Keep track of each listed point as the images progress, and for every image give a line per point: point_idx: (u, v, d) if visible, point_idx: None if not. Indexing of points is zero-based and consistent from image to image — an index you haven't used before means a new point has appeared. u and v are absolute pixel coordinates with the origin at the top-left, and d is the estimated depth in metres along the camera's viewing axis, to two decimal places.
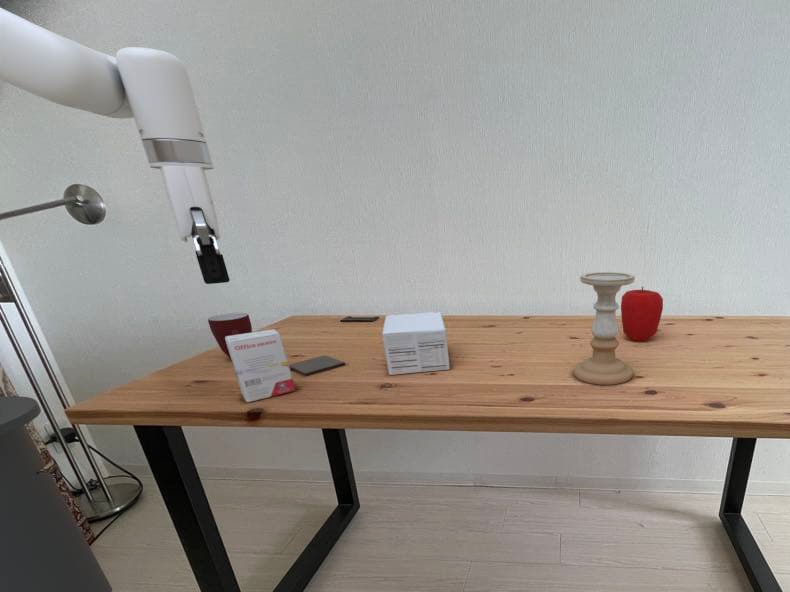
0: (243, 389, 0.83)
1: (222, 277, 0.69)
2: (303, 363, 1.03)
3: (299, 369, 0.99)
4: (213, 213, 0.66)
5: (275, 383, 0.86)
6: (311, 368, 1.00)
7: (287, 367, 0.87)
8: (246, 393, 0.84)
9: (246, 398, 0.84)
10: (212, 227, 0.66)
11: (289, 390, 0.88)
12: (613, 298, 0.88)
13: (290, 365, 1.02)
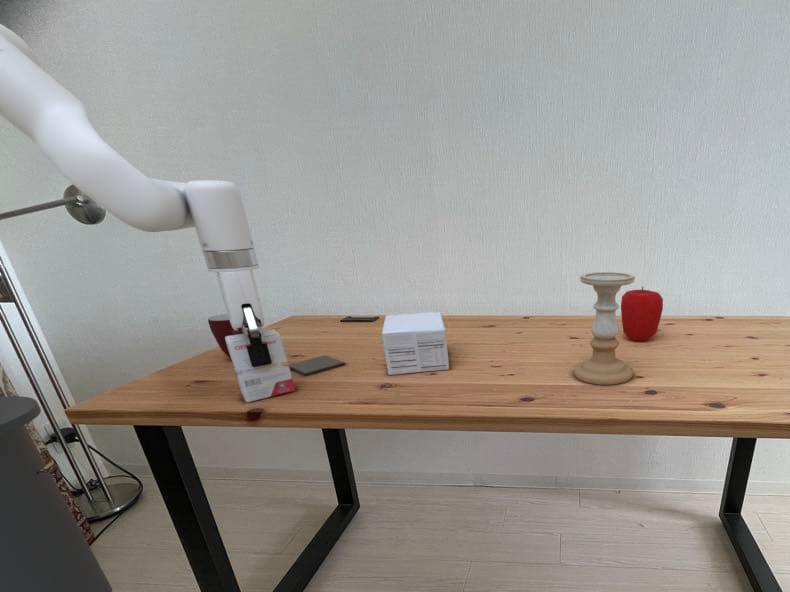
0: (243, 389, 0.83)
1: (266, 360, 0.83)
2: (303, 363, 1.03)
3: (299, 369, 0.99)
4: (260, 306, 0.79)
5: (275, 383, 0.86)
6: (311, 368, 1.00)
7: (287, 367, 0.87)
8: (246, 393, 0.84)
9: (246, 398, 0.84)
10: (260, 324, 0.80)
11: (289, 390, 0.88)
12: (613, 298, 0.88)
13: (290, 365, 1.02)
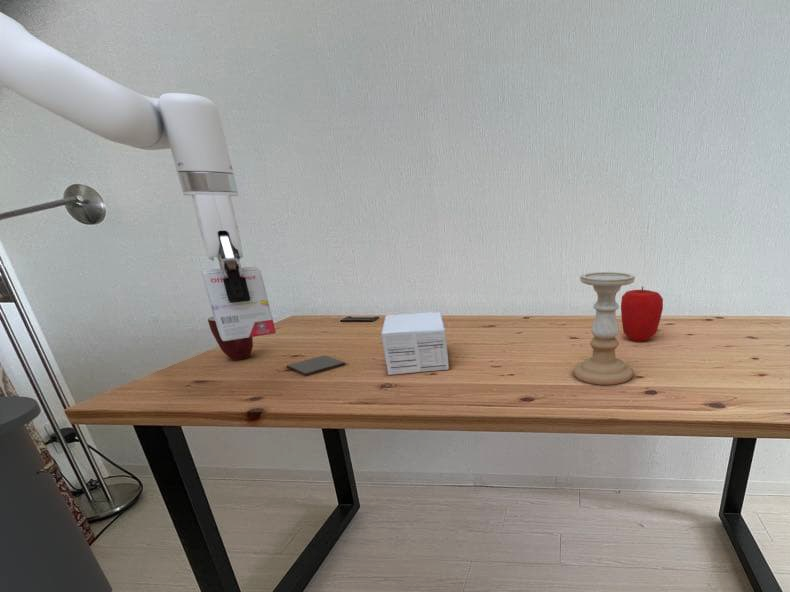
0: (219, 326, 0.79)
1: (244, 296, 0.79)
2: (303, 363, 1.03)
3: (299, 369, 0.99)
4: (238, 236, 0.74)
5: (253, 323, 0.82)
6: (311, 368, 1.00)
7: (267, 306, 0.82)
8: (222, 331, 0.79)
9: (222, 336, 0.80)
10: (238, 255, 0.75)
11: (269, 332, 0.84)
12: (613, 298, 0.88)
13: (290, 365, 1.02)
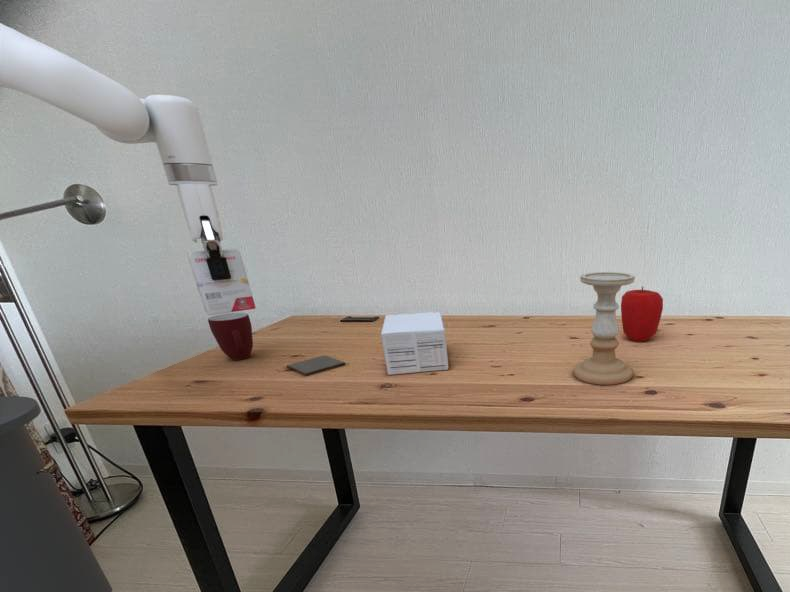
0: (204, 301, 0.89)
1: (225, 275, 0.89)
2: (303, 363, 1.03)
3: (299, 369, 0.99)
4: (217, 220, 0.84)
5: (235, 299, 0.92)
6: (311, 368, 1.00)
7: (247, 284, 0.92)
8: (207, 306, 0.89)
9: (207, 311, 0.90)
10: (218, 237, 0.85)
11: (249, 307, 0.94)
12: (613, 298, 0.88)
13: (290, 365, 1.02)
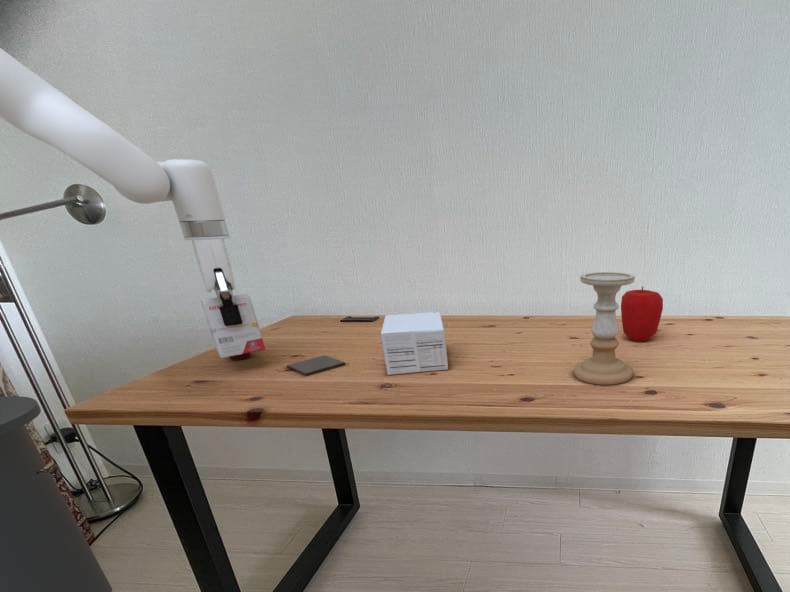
0: (217, 345, 0.95)
1: (237, 320, 0.95)
2: (303, 363, 1.03)
3: (299, 369, 0.99)
4: (230, 271, 0.90)
5: (246, 341, 0.97)
6: (311, 368, 1.00)
7: (257, 327, 0.98)
8: (220, 349, 0.95)
9: (220, 354, 0.95)
10: (231, 287, 0.91)
11: (259, 349, 1.00)
12: (613, 298, 0.88)
13: (290, 365, 1.02)
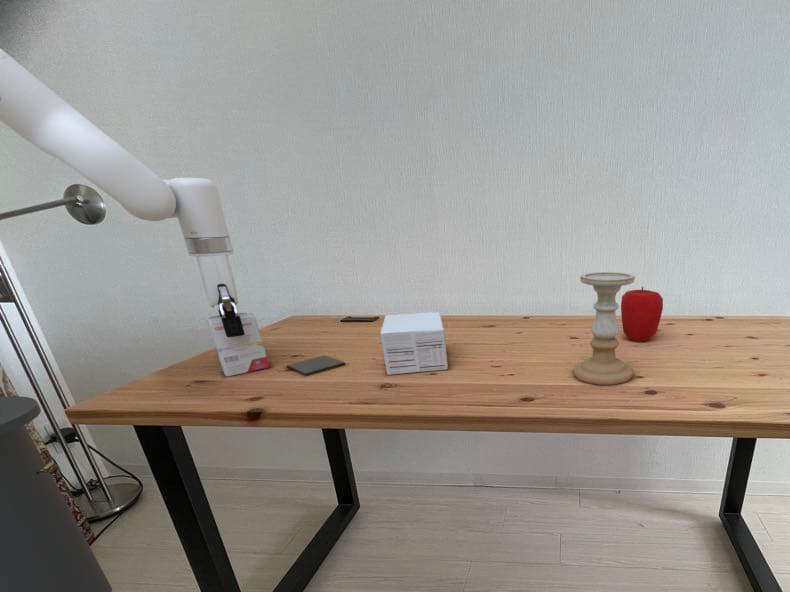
0: (223, 365, 0.96)
1: (239, 332, 0.94)
2: (303, 363, 1.03)
3: (299, 369, 0.99)
4: (234, 287, 0.91)
5: (251, 360, 0.99)
6: (311, 368, 1.00)
7: (262, 346, 1.00)
8: (225, 368, 0.97)
9: (225, 373, 0.97)
10: (233, 297, 0.91)
11: (264, 367, 1.01)
12: (613, 298, 0.88)
13: (290, 365, 1.02)
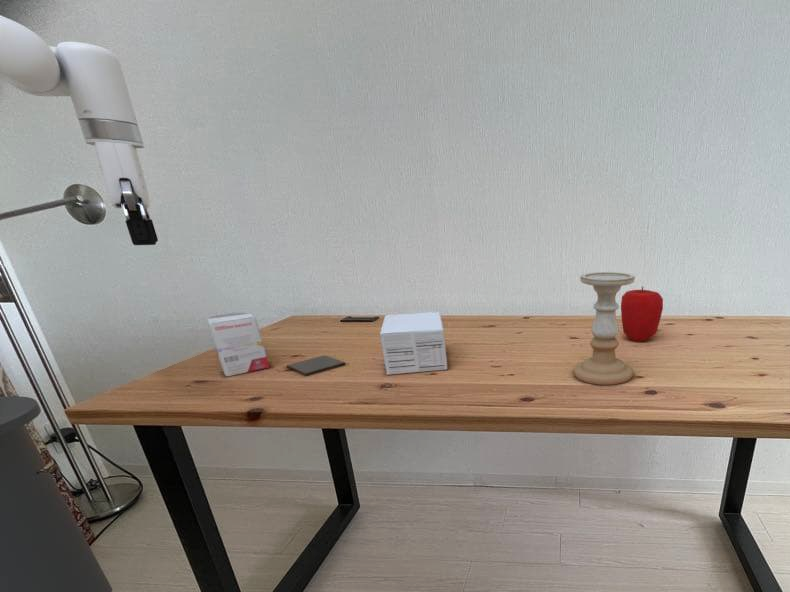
0: (223, 365, 0.96)
1: (149, 240, 0.80)
2: (303, 363, 1.03)
3: (299, 369, 0.99)
4: (141, 184, 0.77)
5: (251, 360, 0.99)
6: (311, 368, 1.00)
7: (262, 346, 1.00)
8: (225, 368, 0.97)
9: (225, 373, 0.97)
10: (140, 196, 0.77)
11: (264, 367, 1.01)
12: (613, 298, 0.88)
13: (290, 365, 1.02)
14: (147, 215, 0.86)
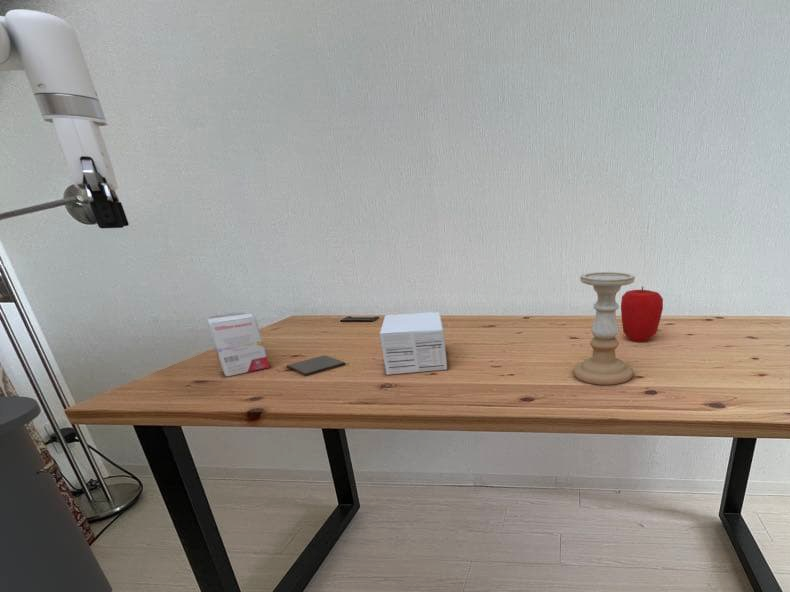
0: (223, 365, 0.96)
1: (116, 223, 0.76)
2: (303, 363, 1.03)
3: (299, 369, 0.99)
4: (104, 163, 0.73)
5: (251, 360, 0.99)
6: (311, 368, 1.00)
7: (262, 346, 1.00)
8: (225, 368, 0.97)
9: (225, 373, 0.97)
10: (103, 176, 0.73)
11: (264, 367, 1.01)
12: (613, 298, 0.88)
13: (290, 365, 1.02)
14: (116, 198, 0.82)
